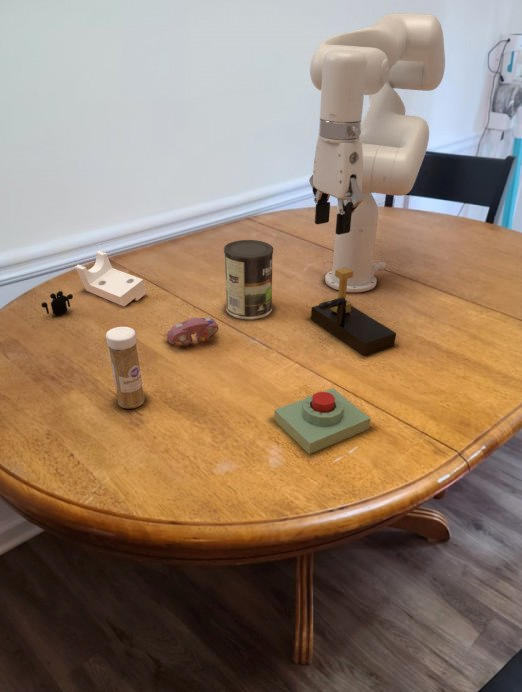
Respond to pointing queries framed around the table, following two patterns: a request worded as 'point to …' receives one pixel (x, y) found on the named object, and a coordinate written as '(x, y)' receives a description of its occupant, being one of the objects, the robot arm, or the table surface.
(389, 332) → the tap base
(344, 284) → the tap handle
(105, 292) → the bracket
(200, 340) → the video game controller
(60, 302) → the wireless earbuds
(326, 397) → the button
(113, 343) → the sprinkles bottle
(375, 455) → the table surface
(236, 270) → the coffee can
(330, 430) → the block
